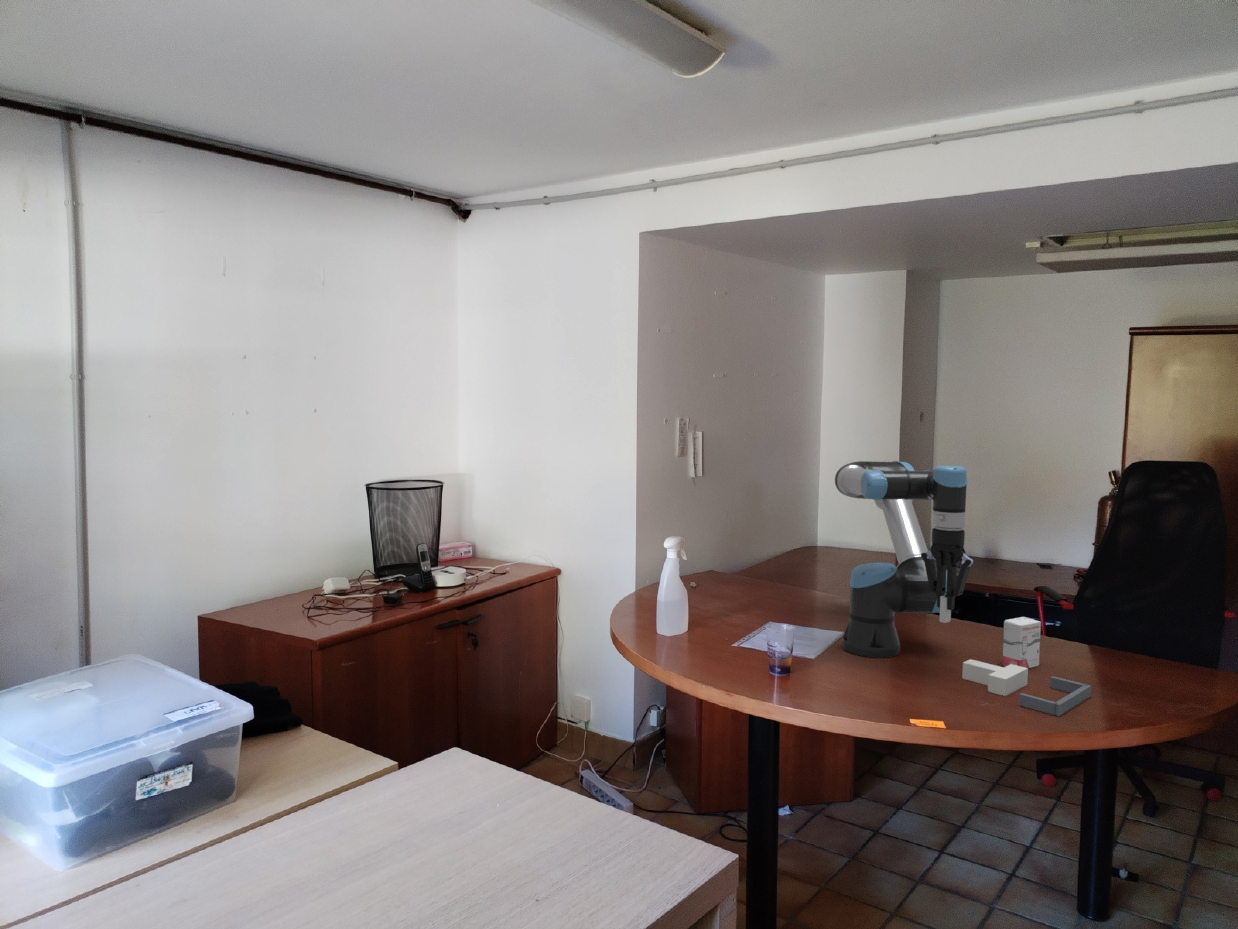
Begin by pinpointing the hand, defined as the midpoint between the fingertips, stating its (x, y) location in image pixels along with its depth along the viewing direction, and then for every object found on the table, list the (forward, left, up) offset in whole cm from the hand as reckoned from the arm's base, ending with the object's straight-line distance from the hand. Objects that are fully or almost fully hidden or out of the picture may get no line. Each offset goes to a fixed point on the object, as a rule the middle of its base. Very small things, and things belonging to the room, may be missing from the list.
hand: (945, 621), depth 197 cm
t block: (+12, 0, -13) cm, 17 cm away
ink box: (+11, +19, -13) cm, 25 cm away
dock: (+27, 0, -13) cm, 30 cm away
